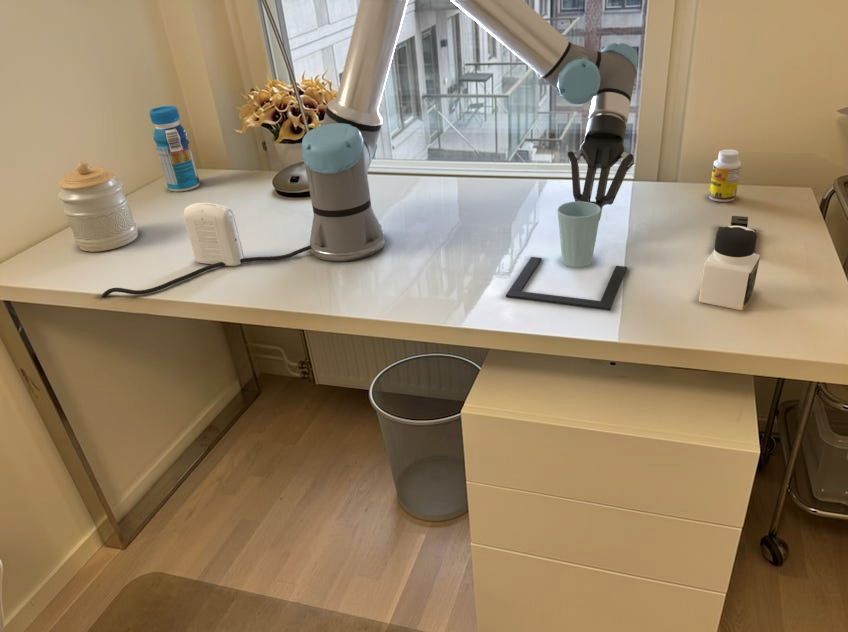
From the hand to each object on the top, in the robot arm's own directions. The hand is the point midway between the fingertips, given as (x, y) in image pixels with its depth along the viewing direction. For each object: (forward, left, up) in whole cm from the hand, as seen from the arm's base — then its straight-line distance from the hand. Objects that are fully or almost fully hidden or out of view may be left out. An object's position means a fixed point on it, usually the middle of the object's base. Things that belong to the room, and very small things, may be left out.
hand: (586, 236), depth 133 cm
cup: (-3, -3, -4) cm, 6 cm away
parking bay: (-6, -11, -3) cm, 13 cm away
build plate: (+29, -4, -4) cm, 29 cm away
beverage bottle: (-87, +68, -4) cm, 111 cm away
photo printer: (-71, +16, -4) cm, 73 cm away
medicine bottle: (+17, -24, -4) cm, 29 cm away
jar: (-98, +35, -4) cm, 105 cm away
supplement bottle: (+37, +18, -4) cm, 41 cm away
